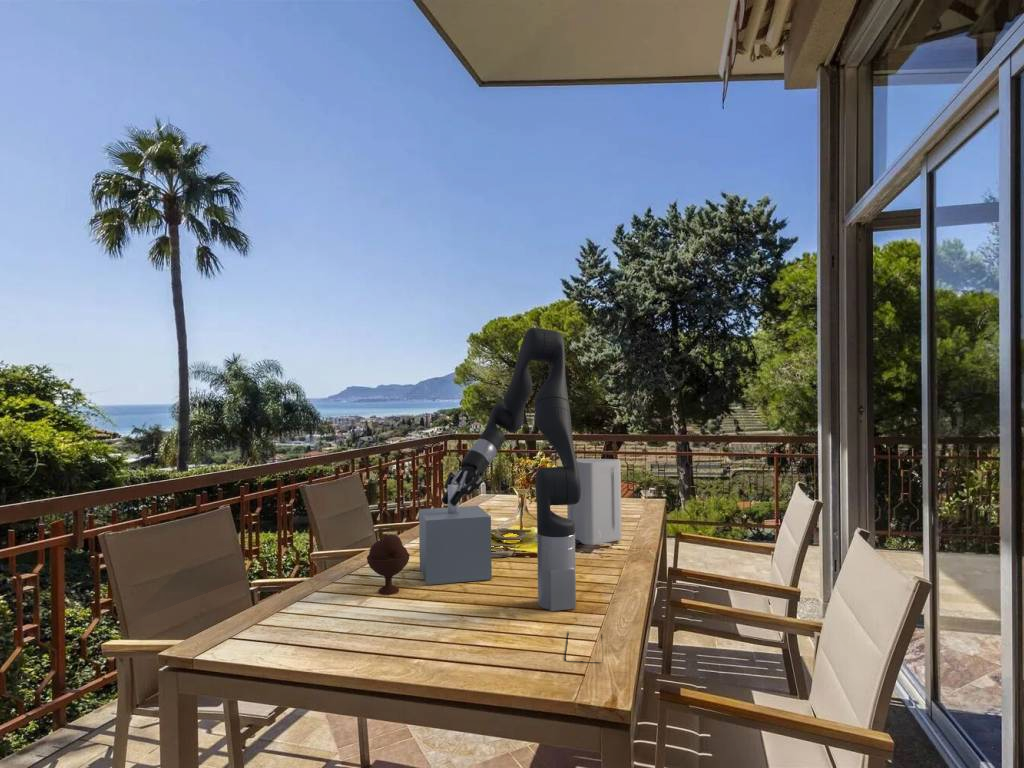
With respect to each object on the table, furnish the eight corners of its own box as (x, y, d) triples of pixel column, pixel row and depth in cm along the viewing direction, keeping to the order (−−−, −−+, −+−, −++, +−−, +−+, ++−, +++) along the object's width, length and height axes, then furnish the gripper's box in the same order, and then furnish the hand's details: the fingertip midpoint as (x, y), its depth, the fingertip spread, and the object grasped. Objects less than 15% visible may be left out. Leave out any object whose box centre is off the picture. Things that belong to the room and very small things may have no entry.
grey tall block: (561, 543, 210) (560, 462, 211) (569, 534, 224) (568, 458, 225) (616, 546, 205) (615, 463, 206) (621, 536, 219) (620, 459, 220)
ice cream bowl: (413, 585, 164) (413, 529, 164) (402, 598, 152) (402, 539, 153) (375, 584, 165) (375, 529, 165) (361, 598, 154) (361, 538, 154)
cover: (491, 579, 168) (490, 487, 168) (426, 585, 163) (425, 490, 164) (478, 562, 185) (477, 479, 186) (419, 567, 180) (418, 482, 181)
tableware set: (505, 562, 187) (505, 549, 187) (420, 555, 197) (420, 543, 197) (537, 538, 221) (537, 526, 221) (463, 533, 230) (463, 522, 230)
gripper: (457, 448, 185) (425, 492, 176) (488, 450, 175) (456, 497, 166) (470, 464, 189) (440, 508, 180) (502, 467, 179) (471, 514, 170)
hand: (448, 503), depth 173 cm, fingers closed on cover, 3 cm apart
